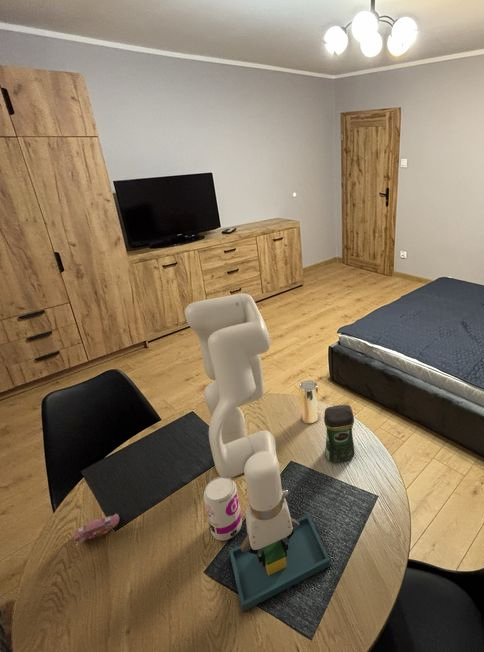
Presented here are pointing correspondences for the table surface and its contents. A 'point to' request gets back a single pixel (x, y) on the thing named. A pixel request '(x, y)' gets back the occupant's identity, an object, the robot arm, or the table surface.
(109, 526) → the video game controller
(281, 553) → the sponge
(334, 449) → the coffee jar
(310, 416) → the silver metal cylinder
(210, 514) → the supplement can
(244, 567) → the tray
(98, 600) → the table surface
